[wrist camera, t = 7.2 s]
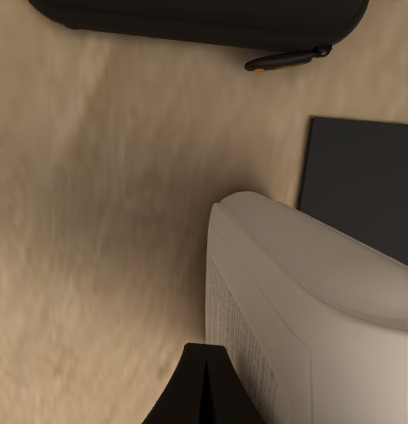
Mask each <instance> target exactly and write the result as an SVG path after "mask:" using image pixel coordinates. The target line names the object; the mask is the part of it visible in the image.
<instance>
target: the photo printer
mask: <svg viewBox="0 0 408 424" xmlns="http://www.w3.org/2000/svg"><path fill="white" fill-rule="evenodd" d="M205 333H206V344H212V345H224V347H225V348H226V349H227V352H228V355H229V357H230V360H231V362H232V364H233V367H234V369H235V371H236V373H237V375H238V377H239V379H240V381H241V383H242V385H243V386H244V388H245V390H246V392H247V394H248V395H249V397H250V399H251V401H252V402H253V404H254V406H255V407H256V409H257V410H258V412H259V414H260V415H261V417H262V418H263V420H264V421H265V423H266V424H408V266H406V265H404V264H402V263H400V262H399V261H397V260H395V259H393V258H391V257H389V256H387V255H385V254H383V253H381V252H379V251H377V250H375V249H373V248H371V247H369V246H367V245H365V244H363V243H361V242H359V241H357V240H355V239H354V238H352V237H350V236H348V235H346V234H344V233H342V232H340V231H338V230H336V229H334V228H332V227H330V226H328V225H326V224H324V223H322V222H320V221H318V220H316V219H314V218H312V217H310V216H308V215H307V214H305V213H302V212H300V211H298V210H296V209H294V208H292V207H290V206H288V205H286V204H284V203H281V202H278V201H276V202H275V201H273V200H271V199H269V198H267V197H265V196H263V195H261V194H259V193H256V192H250V191H243V192H237V193H234V194H231V195H229V196H227V197H226V198H224V199H223V200H221V201H220V203H214V204H213V207H212V211H211V215H210V221H209V227H208V240H207V262H206V300H205Z"/></svg>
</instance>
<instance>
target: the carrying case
mask: <svg viewBox="0 0 408 424" xmlns="http://www.w3.org/2000/svg"><path fill="white" fill-rule="evenodd" d="M28 1H29V2H30V3H31V4H32V5H33V6H34V8H35V9H37V10H38V11H39V12H40V13H41V14H43V15H44V16H46V17H47V18H49V19H50V20H52V21H54V22H57V23H60V24H63V25H64V26H66V27H67V28H70V29H74V30H76V29H83V30H92V31H101V32H110V33H118V34H127V35H136V36H145V37H154V38H163V39H171V40H180V41H189V42H198V43H207V44H215V45H224V46H233V47H242V48H251V49H260V50H268V51H277V52H286V53H283V54H277V55H272V56H266V57H262V58H257V59H254V60H251V61H249V62H247V63H246V64H245V66H244V68H245V69H246V70H247V71H266V70H274V69H281V68H287V67H292V66H297V65H302V64H306V63H309V62H310V61H311V60H312V58H313V57H315V58H321V57H326V56H327V55H328V54H329V53H330V51H331V50H332V46H333V45H335V44H337V43H338V42H340V41H341V40H343V39H344V38H345V37H346V36H348V35H349V34H350V33H351V32H352V31H353V30H354V28H355V27H356V26H357V25H358V23H359V22H360V20H361V19H362V17H363V15H364V13H365V11H366V9H367V6H368V2H369V0H28ZM326 52H327V53H326ZM322 53H326V54H324V55H321V54H322Z"/></svg>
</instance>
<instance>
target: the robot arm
mask: <svg viewBox="0 0 408 424" xmlns="http://www.w3.org/2000/svg"><path fill="white" fill-rule="evenodd" d="M142 424H266V423H265V421H264V420H263V418H262V417H261V415H260V414H259V412H258V410H257V409H256V407H255V406H254V404H253V402H252V401H251V399H250V397H249V395H248V394H247V392H246V390H245V388H244V386H243V385H242V383H241V381H240V379H239V377H238V375H237V373H236V371H235V369H234V367H233V364H232V362H231V360H230V357H229V355H228V352H227V349H226V348H225V347H224V345H212V344H199V343H187V344H186V345H185V346H184V350H183V353H182V356H181V358H180V361H179V363H178V365H177V367H176V369H175V371H174V373H173V375H172V377H171V379H170V381H169V382H168V384H167V386H166V388H165V390H164V391H163V393H162V394H161V396H160V397H159V399H158V401H157V402H156V404H155V405H154V407H153V408H152V410H151V411H150V413H149V414H148V416H147V417H146V418H145V420H144V421H143V422H142Z"/></svg>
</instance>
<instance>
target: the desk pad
mask: <svg viewBox="0 0 408 424" xmlns="http://www.w3.org/2000/svg"><path fill="white" fill-rule="evenodd" d="M298 211H300V212H302V213H305V214H307V215H308V216H310V217H312V218H314V219H316V220H318V221H320V222H322V223H324V224H326V225H328V226H330V227H332V228H334V229H336V230H338V231H340V232H342V233H344V234H346V235H348V236H350V237H352V238H354V239H355V240H357V241H359V242H361V243H363V244H365V245H367V246H369V247H371V248H373V249H375V250H377V251H379V252H381V253H383V254H385V255H387V256H389V257H391V258H393V259H395V260H397V261H399V262H400V263H402V264H404V265H406V266H408V125H402V124H390V123H378V122H366V121H354V120H342V119H330V118H318V117H313V118H312V119H311V125H310V132H309V138H308V145H307V151H306V158H305V164H304V171H303V177H302V184H301V190H300V197H299V204H298Z"/></svg>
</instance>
